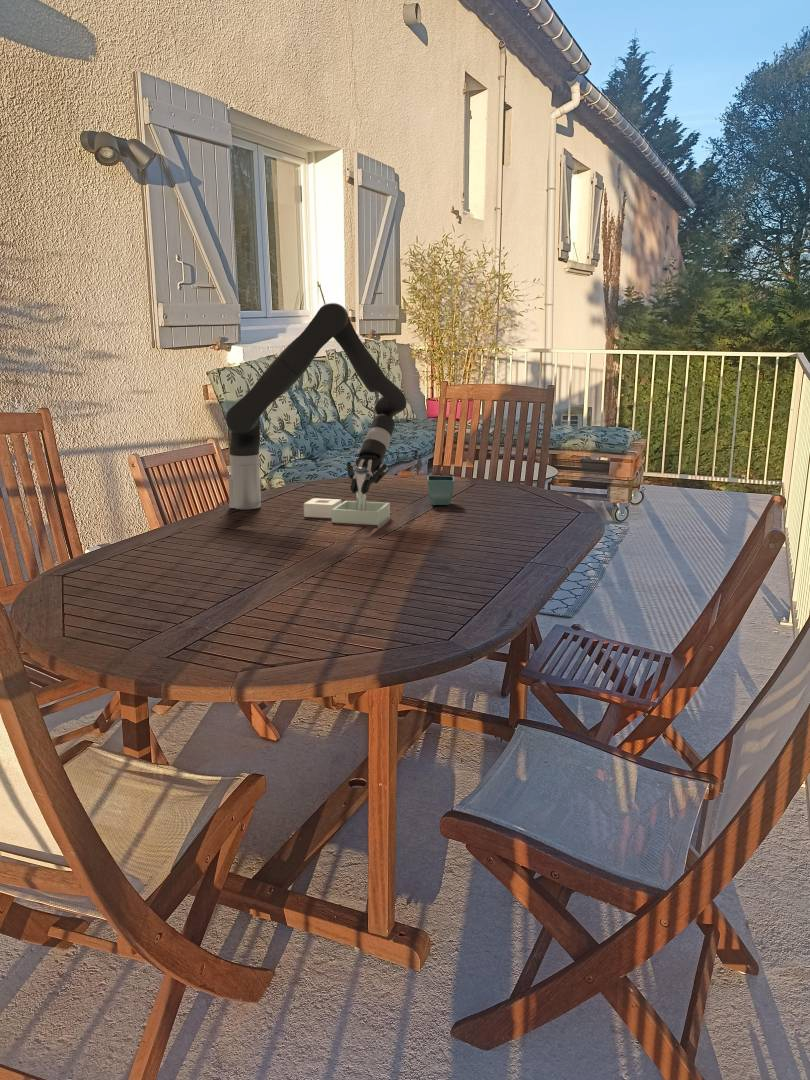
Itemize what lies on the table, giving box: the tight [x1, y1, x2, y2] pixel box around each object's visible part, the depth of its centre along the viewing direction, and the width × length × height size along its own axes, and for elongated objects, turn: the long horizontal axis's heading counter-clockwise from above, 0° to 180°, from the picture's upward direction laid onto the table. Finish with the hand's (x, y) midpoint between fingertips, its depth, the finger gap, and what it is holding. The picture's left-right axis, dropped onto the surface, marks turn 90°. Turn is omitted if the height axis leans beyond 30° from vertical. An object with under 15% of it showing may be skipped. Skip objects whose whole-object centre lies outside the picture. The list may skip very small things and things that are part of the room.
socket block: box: [303, 497, 342, 519], centre depth 256 cm, size 9×9×5 cm
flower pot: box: [426, 475, 456, 506], centre depth 277 cm, size 9×9×9 cm
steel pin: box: [354, 466, 367, 511], centre depth 249 cm, size 3×3×14 cm
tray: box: [331, 500, 391, 529], centre depth 251 cm, size 14×14×5 cm
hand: (358, 491), depth 247 cm, fingers closed on steel pin, 2 cm apart
